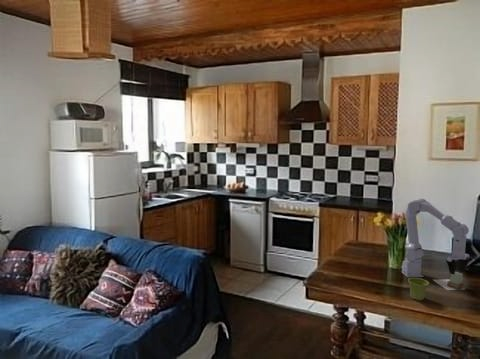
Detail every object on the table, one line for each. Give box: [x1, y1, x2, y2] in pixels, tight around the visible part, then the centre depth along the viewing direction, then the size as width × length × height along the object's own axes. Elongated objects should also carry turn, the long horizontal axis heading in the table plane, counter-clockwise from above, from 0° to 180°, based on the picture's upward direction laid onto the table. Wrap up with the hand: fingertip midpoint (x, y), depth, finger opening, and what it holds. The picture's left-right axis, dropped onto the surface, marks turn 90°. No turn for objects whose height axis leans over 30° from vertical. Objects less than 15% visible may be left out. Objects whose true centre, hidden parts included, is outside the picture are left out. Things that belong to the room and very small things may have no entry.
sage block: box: [449, 271, 464, 284], centre depth 209 cm, size 4×4×5 cm
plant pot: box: [407, 277, 430, 301], centre depth 197 cm, size 9×9×9 cm
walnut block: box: [447, 281, 466, 291], centre depth 210 cm, size 6×6×2 cm
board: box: [432, 278, 466, 291], centre depth 213 cm, size 10×14×1 cm
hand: (457, 272), depth 209 cm, fingers open, 7 cm apart
